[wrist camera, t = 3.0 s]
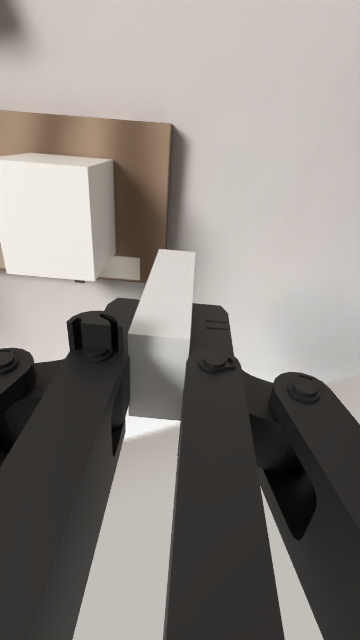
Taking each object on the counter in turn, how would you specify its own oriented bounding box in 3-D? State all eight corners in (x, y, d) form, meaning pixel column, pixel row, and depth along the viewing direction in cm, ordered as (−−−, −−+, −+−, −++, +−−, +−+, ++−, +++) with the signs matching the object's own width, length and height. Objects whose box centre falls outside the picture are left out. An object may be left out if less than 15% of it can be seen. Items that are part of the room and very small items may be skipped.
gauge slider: (113, 159, 24) (87, 166, 19) (116, 282, 29) (97, 315, 23) (-10, 149, 24) (-69, 154, 19) (14, 272, 29) (-28, 303, 24)
